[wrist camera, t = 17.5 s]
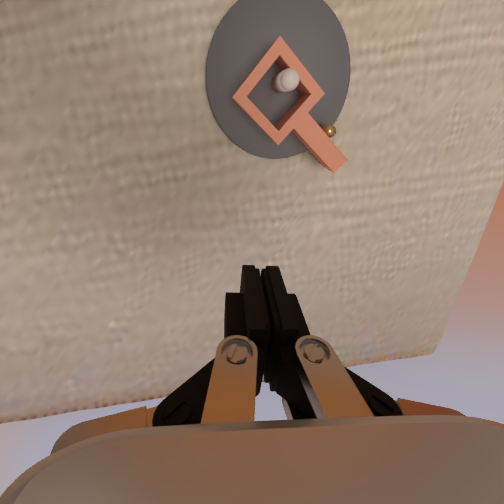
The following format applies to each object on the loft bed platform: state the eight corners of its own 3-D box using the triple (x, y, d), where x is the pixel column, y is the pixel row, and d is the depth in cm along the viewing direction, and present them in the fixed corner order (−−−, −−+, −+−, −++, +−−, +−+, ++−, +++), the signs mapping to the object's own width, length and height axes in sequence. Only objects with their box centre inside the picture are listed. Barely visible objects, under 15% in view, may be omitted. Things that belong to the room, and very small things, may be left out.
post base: (207, -27, 25) (201, -69, 19) (365, 0, 27) (408, -31, 21) (205, 151, 33) (201, 163, 26) (328, 162, 35) (351, 175, 28)
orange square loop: (231, 97, 29) (232, 97, 26) (273, 43, 27) (280, 35, 24) (309, 179, 35) (318, 187, 31) (349, 139, 33) (363, 143, 29)
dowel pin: (318, 123, 31) (326, 125, 29) (327, 124, 32) (337, 126, 29) (316, 134, 32) (324, 136, 29) (325, 135, 32) (334, 138, 30)
